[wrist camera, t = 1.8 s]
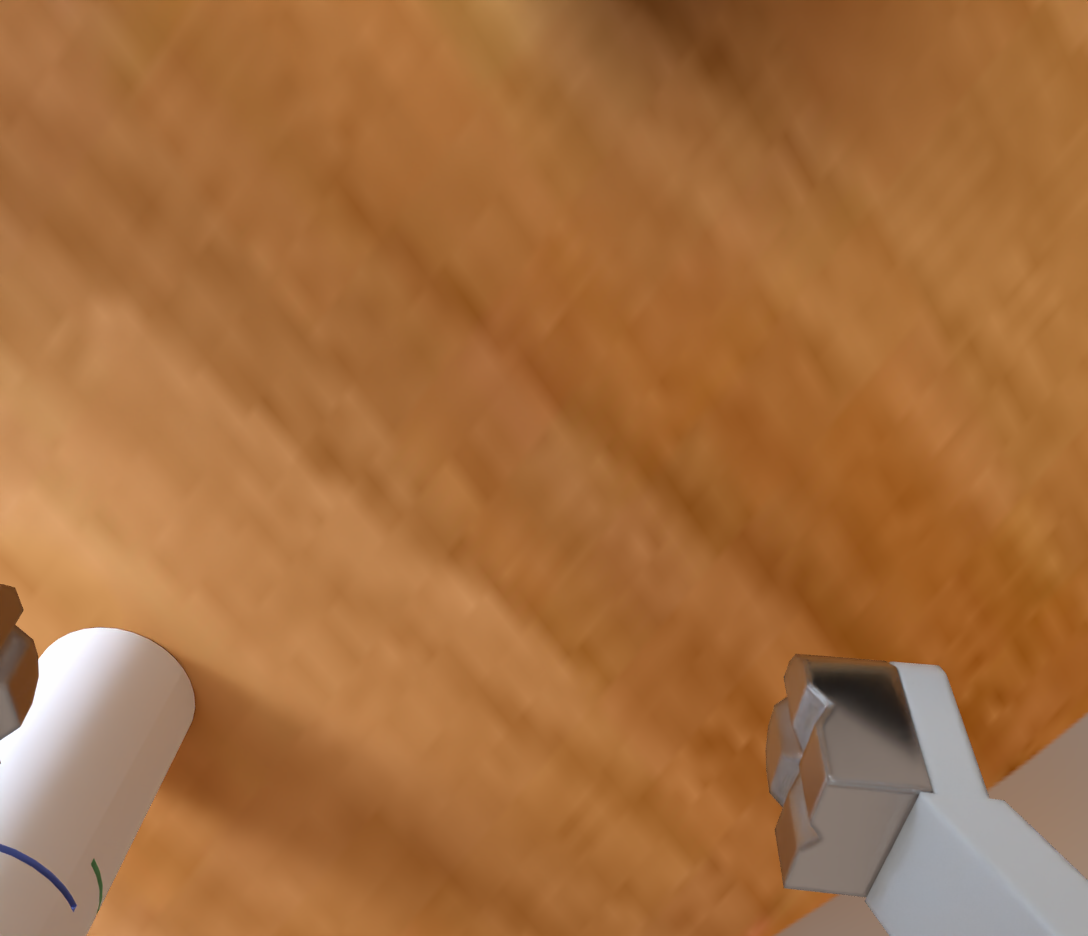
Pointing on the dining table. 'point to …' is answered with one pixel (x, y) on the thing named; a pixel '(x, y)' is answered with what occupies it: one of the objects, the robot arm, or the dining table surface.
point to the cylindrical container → (84, 775)
